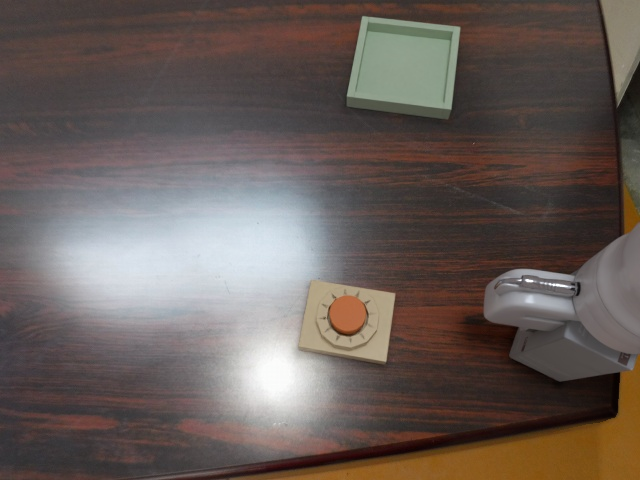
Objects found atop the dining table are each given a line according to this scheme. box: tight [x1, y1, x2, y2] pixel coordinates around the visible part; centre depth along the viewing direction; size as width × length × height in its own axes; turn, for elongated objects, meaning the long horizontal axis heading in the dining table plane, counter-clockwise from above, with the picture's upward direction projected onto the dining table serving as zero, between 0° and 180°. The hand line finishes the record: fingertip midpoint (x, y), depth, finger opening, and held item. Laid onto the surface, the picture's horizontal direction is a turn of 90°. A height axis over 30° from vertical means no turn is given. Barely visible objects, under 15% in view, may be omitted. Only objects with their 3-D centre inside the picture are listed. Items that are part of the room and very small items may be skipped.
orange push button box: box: [297, 279, 396, 366], centre depth 61 cm, size 10×8×4 cm
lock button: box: [330, 295, 366, 334], centre depth 59 cm, size 4×4×2 cm
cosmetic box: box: [508, 268, 639, 383], centre depth 54 cm, size 8×7×16 cm
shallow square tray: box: [346, 15, 461, 120], centre depth 75 cm, size 14×14×2 cm
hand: (568, 330), depth 56 cm, fingers closed on cosmetic box, 7 cm apart
